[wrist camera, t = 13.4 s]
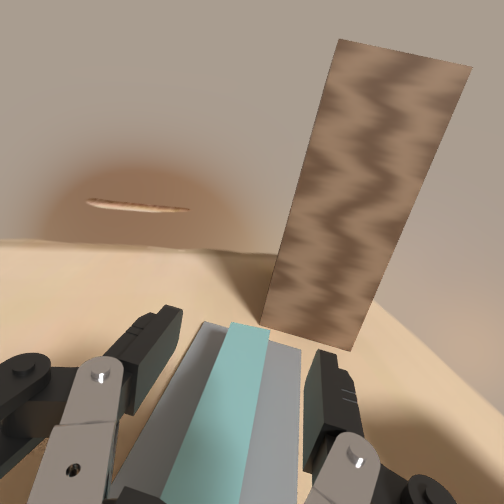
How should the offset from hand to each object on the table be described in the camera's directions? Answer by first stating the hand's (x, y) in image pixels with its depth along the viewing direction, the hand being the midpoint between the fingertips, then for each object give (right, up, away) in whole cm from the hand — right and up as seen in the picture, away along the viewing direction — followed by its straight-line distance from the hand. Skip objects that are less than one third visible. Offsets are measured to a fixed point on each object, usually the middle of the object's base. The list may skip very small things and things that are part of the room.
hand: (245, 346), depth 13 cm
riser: (+8, -4, +35) cm, 36 cm away
